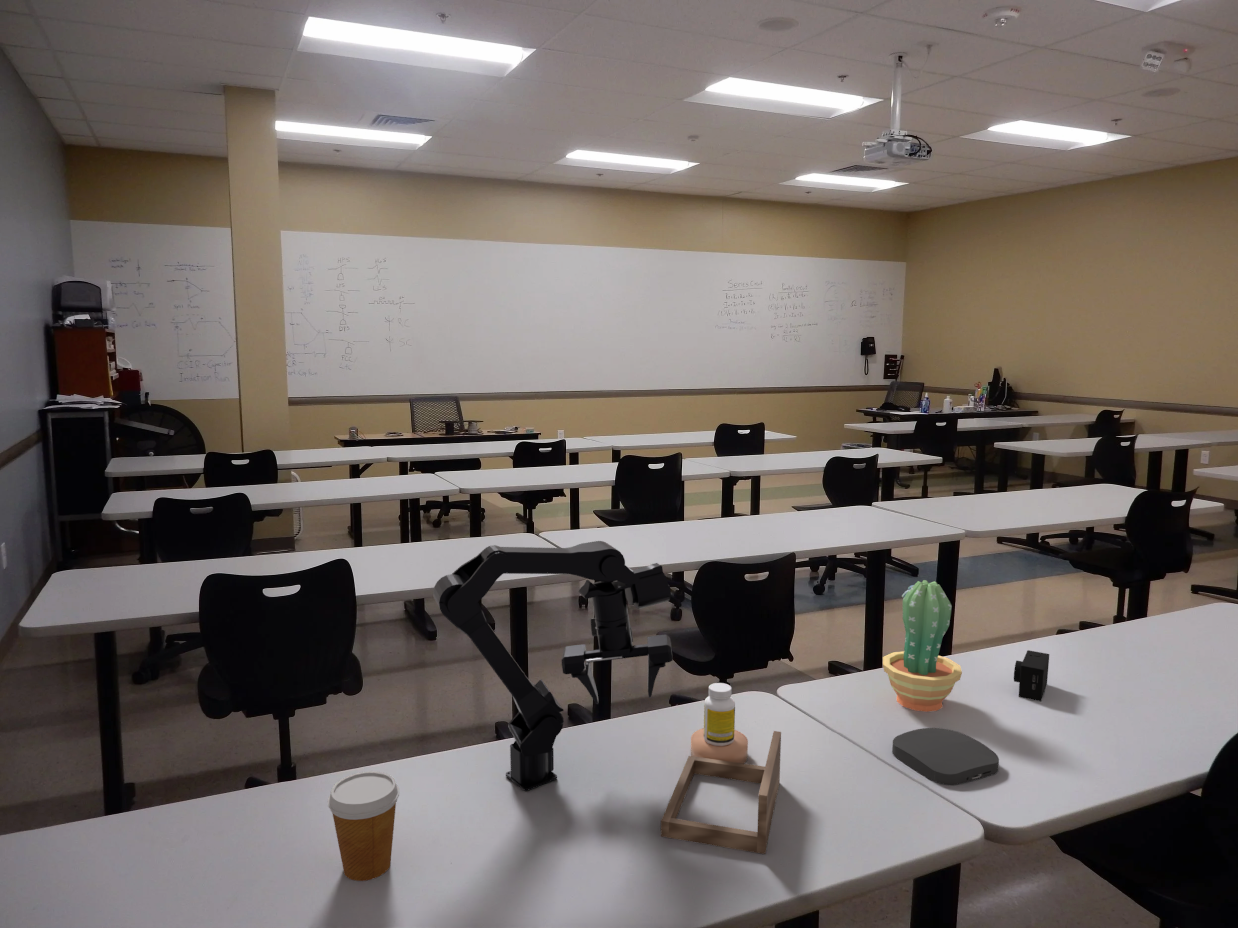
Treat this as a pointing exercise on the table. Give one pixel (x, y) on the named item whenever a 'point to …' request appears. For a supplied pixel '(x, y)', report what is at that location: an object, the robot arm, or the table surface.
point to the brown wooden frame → (734, 771)
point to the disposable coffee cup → (364, 822)
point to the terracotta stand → (720, 748)
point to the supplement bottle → (719, 715)
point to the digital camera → (1032, 675)
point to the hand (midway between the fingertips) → (623, 699)
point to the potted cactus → (923, 651)
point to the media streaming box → (945, 755)
